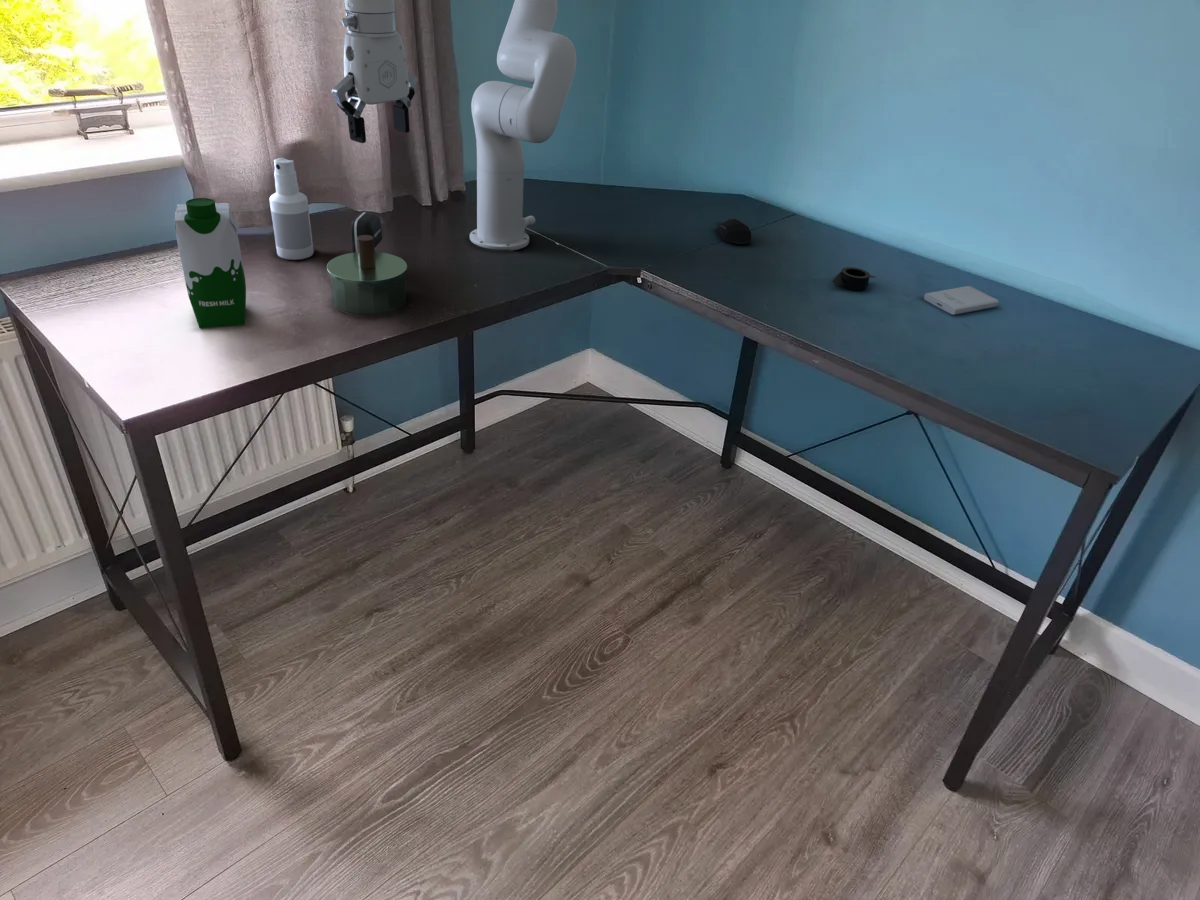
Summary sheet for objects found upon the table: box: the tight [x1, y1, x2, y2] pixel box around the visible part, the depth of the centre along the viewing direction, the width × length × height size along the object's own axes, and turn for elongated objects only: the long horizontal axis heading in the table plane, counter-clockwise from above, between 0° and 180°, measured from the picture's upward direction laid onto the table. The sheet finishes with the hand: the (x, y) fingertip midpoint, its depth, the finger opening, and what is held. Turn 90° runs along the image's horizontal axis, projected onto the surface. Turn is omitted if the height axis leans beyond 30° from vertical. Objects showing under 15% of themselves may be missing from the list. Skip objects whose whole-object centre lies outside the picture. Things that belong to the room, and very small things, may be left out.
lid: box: [326, 235, 408, 284], centre depth 143 cm, size 13×13×6 cm
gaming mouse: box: [716, 218, 752, 245], centre depth 192 cm, size 6×15×4 cm, turn 12°
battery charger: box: [350, 211, 383, 253], centre depth 154 cm, size 7×4×11 cm, turn 175°
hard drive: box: [923, 285, 1000, 316], centre depth 169 cm, size 2×8×12 cm
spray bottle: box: [268, 157, 315, 261], centre depth 158 cm, size 7×7×18 cm
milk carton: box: [174, 197, 247, 329], centre depth 133 cm, size 9×9×20 cm
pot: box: [329, 273, 407, 316], centre depth 146 cm, size 12×12×6 cm
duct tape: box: [831, 266, 876, 292], centre depth 172 cm, size 8×10×3 cm
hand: (380, 136), depth 141 cm, fingers open, 9 cm apart
